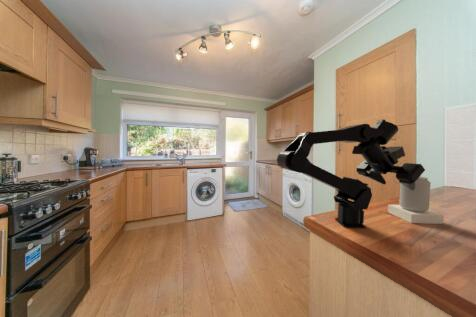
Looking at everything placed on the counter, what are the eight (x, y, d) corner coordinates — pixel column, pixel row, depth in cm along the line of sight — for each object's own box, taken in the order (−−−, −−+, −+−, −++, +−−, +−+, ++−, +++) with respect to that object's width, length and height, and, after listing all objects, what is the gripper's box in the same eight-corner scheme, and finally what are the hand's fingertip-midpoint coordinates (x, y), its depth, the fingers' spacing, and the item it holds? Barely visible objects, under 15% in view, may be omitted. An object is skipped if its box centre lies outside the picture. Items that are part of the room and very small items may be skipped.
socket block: (411, 222, 58) (411, 214, 58) (387, 212, 68) (388, 204, 68) (443, 223, 58) (443, 214, 58) (415, 212, 68) (415, 205, 68)
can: (434, 212, 60) (437, 177, 59) (416, 213, 59) (418, 178, 58) (410, 205, 67) (412, 174, 66) (393, 206, 66) (395, 175, 65)
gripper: (422, 136, 50) (448, 173, 53) (364, 139, 68) (385, 167, 71) (398, 163, 49) (426, 200, 51) (345, 159, 67) (368, 186, 70)
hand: (398, 186), depth 61 cm, fingers open, 9 cm apart
